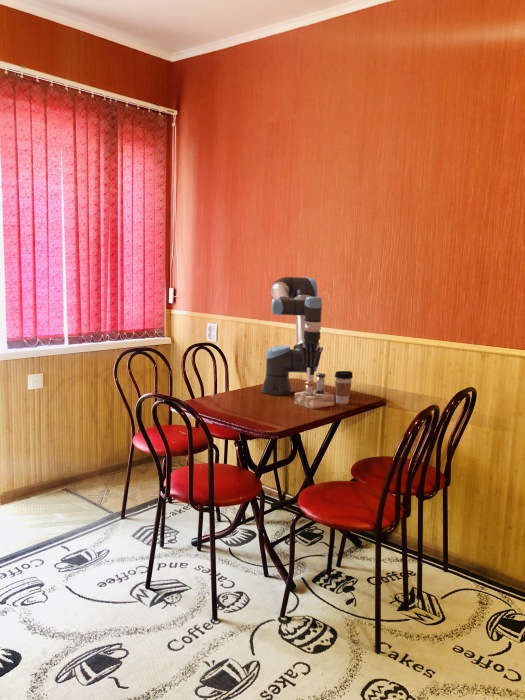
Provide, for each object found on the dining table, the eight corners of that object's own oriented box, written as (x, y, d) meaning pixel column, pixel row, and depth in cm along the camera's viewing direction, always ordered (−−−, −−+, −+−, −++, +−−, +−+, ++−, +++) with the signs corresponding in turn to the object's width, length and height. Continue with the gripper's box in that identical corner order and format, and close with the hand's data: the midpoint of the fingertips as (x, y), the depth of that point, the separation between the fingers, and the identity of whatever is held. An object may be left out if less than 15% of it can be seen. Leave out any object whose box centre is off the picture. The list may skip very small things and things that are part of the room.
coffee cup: (350, 405, 268) (352, 373, 266) (332, 403, 270) (334, 372, 267) (351, 401, 276) (353, 370, 274) (334, 399, 278) (335, 369, 276)
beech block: (294, 403, 268) (294, 392, 267) (315, 399, 276) (316, 389, 276) (312, 408, 258) (312, 398, 258) (333, 404, 267) (334, 394, 267)
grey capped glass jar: (313, 392, 269) (314, 373, 268) (320, 391, 272) (320, 372, 270) (320, 394, 266) (321, 375, 265) (326, 393, 269) (327, 374, 267)
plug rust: (302, 400, 265) (303, 381, 264) (308, 399, 268) (309, 380, 266) (308, 402, 262) (309, 383, 261) (315, 401, 265) (316, 382, 263)
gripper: (296, 329, 262) (294, 379, 266) (316, 332, 252) (313, 384, 256) (308, 328, 267) (305, 378, 271) (328, 332, 257) (325, 383, 261)
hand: (309, 381), depth 263 cm, fingers closed
